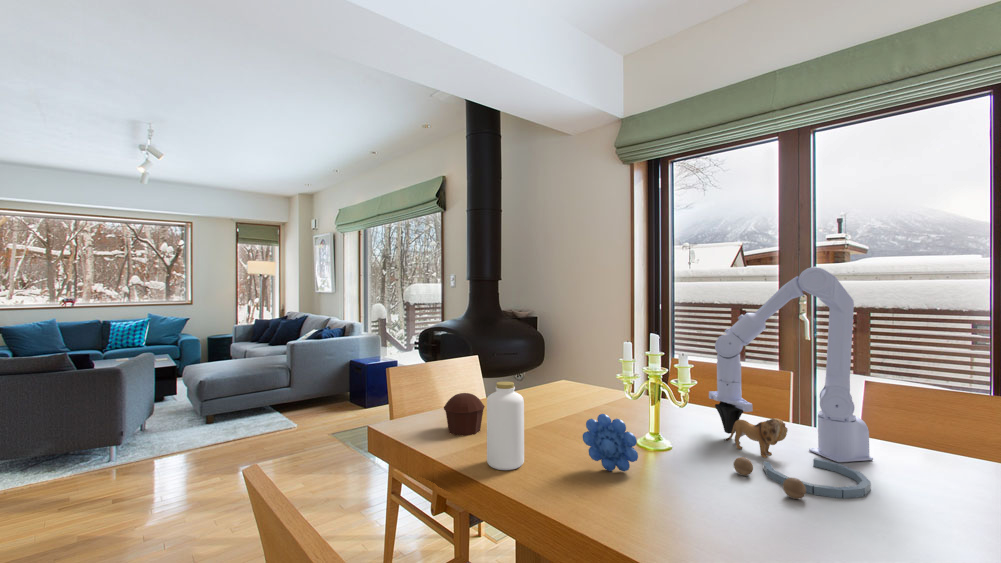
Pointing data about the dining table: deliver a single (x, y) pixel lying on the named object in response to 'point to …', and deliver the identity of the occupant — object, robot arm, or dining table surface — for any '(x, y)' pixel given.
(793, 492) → the walnut bead
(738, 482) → the dining table surface
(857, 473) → the groove ring
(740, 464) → the walnut bead
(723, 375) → the robot arm
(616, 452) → the blue flower
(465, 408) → the muffin
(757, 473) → the dining table surface
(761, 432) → the lion figurine
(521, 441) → the white bottle
